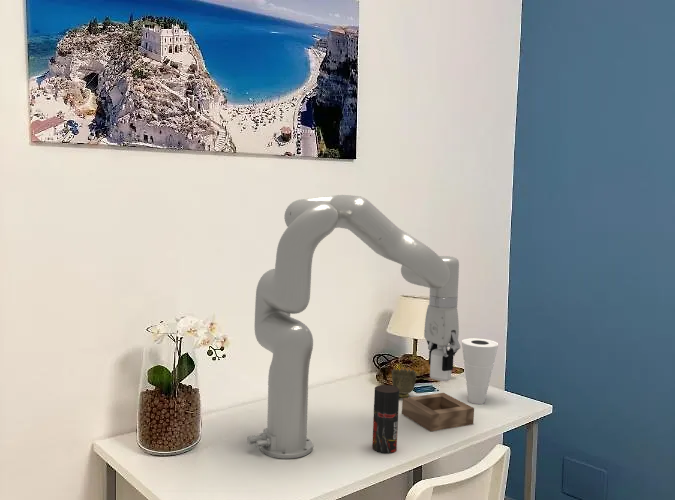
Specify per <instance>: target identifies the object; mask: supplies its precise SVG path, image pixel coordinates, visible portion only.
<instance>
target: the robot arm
mask: <svg viewBox="0 0 675 500" xmlns="http://www.w3.org/2000/svg"><path fill="white" fill-rule="evenodd" d="M284 223H285V226H286V229H285V230H284V232H283V234H282V235H281V237H280V239H279V240H278V243H277V244H278V245H277V247H276V256H275V265H274V268H272V269H269V270H268V271H267V270H266V272H265V273H263V274H262V275H261V277H260V278H259V280H258V283H257V285H256V289H255V290H256V291H255V302H254V303H255V304H254V305H255V306H254V335H255V339H256V342H258V344H259V345H260V346H261V347H263V348H264V349H265V350H267V351H269V352H270V353H272V359H271V362H270V365H269V369H268V377H267V379H268V381H267V385H268V387H267V416H266V417H267V421H266V422H267V423H266V424H267V425H266V428H263V430H262V432H260V433H259V435H258V434H257V435H248V436H247V437H246V441H247V442H246V443H247V445H249V446H250V445H255V446H256V447H259V449H260V451H261V452H262V453H263V454H265V455H267V456H269V457H272V458H277V459H297V458H301V457H304V456H307V455H308V454H311V452H312V450H313V448H314V445H313V444H314V443H313V441H312V440H311V439H310V438H308V436H307V434H308V407H309V402H308V401H309V374H310V364H311V363H310V362H311V358H312V353H313V349H314V348H313V347H314V339H313V334H312V331H311V330H310V328H309V327H308V326H307V325H306V324H305V323H304V322H302V321H300V320H299V319H297V318H294V317H291V314H292V315H296V314H300V313H302V312H303V311H305V310H306V309H307V308H308V306H309V303H310V299H311V286H312V267H313V266H312V265H313V257H314V253H315V251H316V249H317V247H318V245H319V244H320V243H321V242H323V240H324V239H326V237H327V236H329V235H330V234H332V232H333V231H334V230H335V229H337V228H339V229H344V230H345V229H346V230H348V231H350V232H351V233H353V234H354V235H355V236H356V237H357V238H358V239H360V240H361V241H362V242H363V243H364V244H365V245H367V246H368V248H370V249H371V250H372V251H374V253H376V254H377V255H378V256H380V257H382V258H385V259H387V260H389V261H392V262H394V263H397V264H399V265H401V267H400V273H401V276H402V278H403V279H404V280H405V281H406V282H408V283H409V284H412V285H416V286H421V287H425V288H428V289H429V304H428V305H427V309H426V314H425V319H424V320H425V321H424V332H423V336H424V339H425V340H426V344H427V345H428V346H427V347H428V348H427V349H428V350H429V351H428V354H429V355H428V364H429V366H430V363H431V352H432V350H434V349H437V345H439V346H443V350H444V356H443V358H442V370H443V371H449V370H451V371H453V369H454V357H455V355H456V353H457V352H458V351H459V350H460V349H461V344H460V342H459V335H460V334H459V333H460V331H459V330H460V327H459V322H460V321H459V313H458V312H459V311H458V298H459V274H460V262H459V259H458V258H457V257H454V256H450V255H439V254H437V252H436V251H434V250H433V249H432V248H430V247H429V246H428V245H426V244H425V243H423V242H421V240H419V239H417V238H415V237H414V236H412V235H411V234H409V233H408V232H406V231H404V230H403V229H401V228H399V227H398V226H397V225H396V224H395V223H394V222H393V221H391V219H389V218H388V217H387V216H386V215H385V214H384V213H383V212H382V211H380V209H378V208H377V206H375V205H374V204H373V203H372V202H371V201H369V200H368V199H367V198H365V197H363V196H359V195H351V194H350V195H349V194H336V195H329V196H320V197H311V198H301V199H297V200H295V201H292V202H291V203H289V205H288V206H287V207H286V208H285V211H284ZM448 348H449V349H448Z"/></svg>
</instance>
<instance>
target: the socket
mask: <svg viewBox="0 0 675 500" xmlns="http://www.w3.org/2000/svg"><path fill="white" fill-rule="evenodd" d="M401 400H402V402H401V403H402V404H401V415H403V416H404V417H406V418H408V419H410V420H411V421H412V422H414V423H416V424H417V425H419V426H421V427H422V428H424V429H426V430H427V431H429V432H435V431H436V432H437V431H440V430H442V431H443V430H447V429H448V430H449V429H454V428H460V427H465V426H471V425H474V420H475V419H474V417H475V408H474V407H473V406H471V405H469V404H467V403H464V402H462V401H461V400H459V399H457V398H455V397H453V396H451V395H449V394H447V393H445V392H438V393H432V394H426V395H425V394H424V395H417V396H416V395H415V396H409V397H408V398H403V399H401Z"/></svg>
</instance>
